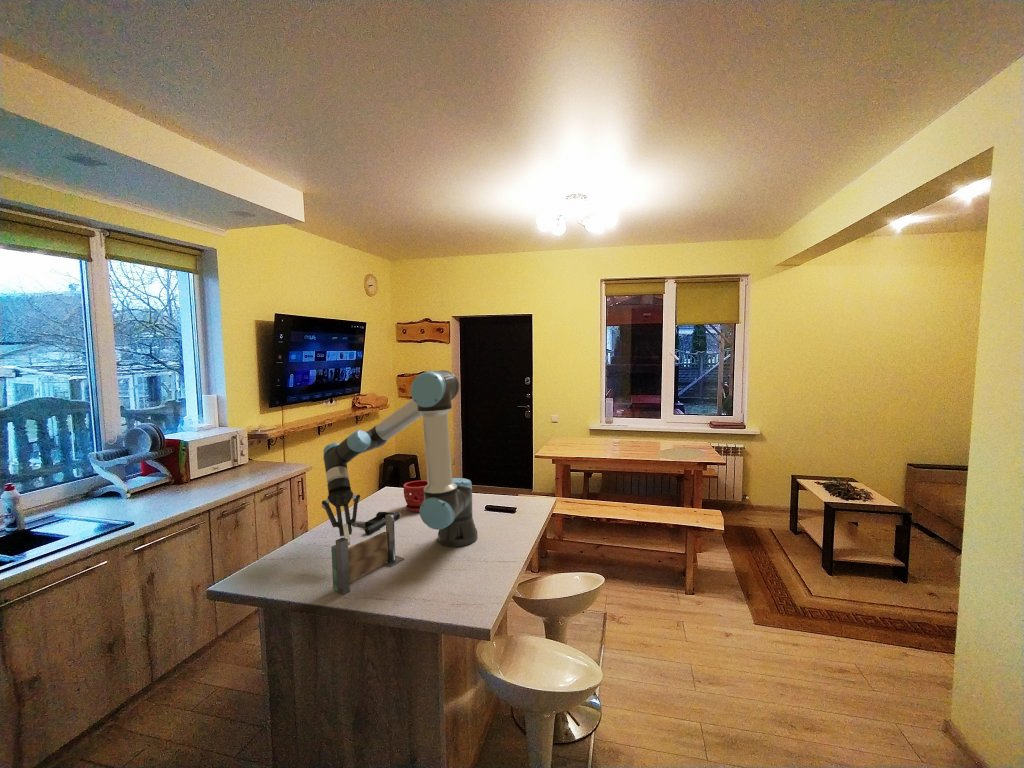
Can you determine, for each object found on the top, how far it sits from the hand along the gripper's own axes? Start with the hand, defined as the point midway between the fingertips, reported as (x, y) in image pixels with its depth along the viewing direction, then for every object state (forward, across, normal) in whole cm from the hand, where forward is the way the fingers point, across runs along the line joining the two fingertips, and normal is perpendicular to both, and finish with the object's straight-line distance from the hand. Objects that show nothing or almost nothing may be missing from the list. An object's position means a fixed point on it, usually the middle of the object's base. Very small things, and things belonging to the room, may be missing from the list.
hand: (347, 543), depth 143 cm
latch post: (+16, +4, +4) cm, 17 cm away
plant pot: (-25, -37, -38) cm, 58 cm away
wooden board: (+11, -3, 0) cm, 12 cm away
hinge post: (+7, -14, -5) cm, 16 cm away
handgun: (-19, -15, -32) cm, 40 cm away
